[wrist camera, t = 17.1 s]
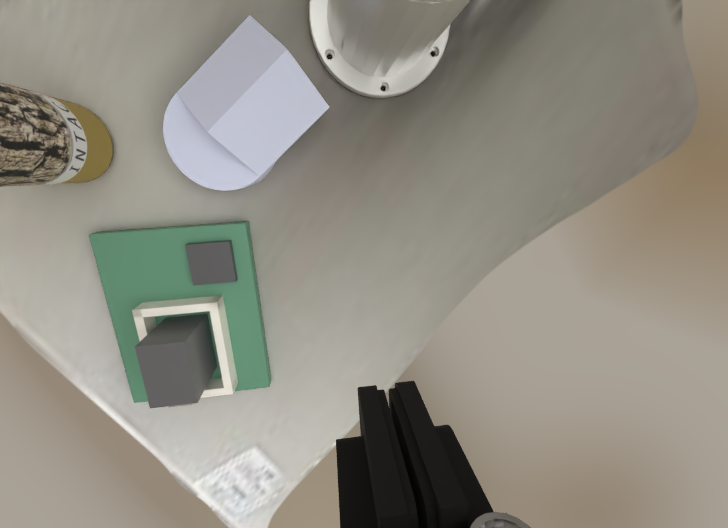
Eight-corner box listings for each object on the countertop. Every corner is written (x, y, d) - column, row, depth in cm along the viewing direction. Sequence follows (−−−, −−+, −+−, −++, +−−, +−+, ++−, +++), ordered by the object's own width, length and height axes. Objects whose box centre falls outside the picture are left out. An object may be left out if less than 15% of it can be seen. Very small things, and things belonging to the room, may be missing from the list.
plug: (166, 317, 35) (134, 346, 29) (207, 313, 35) (184, 341, 29) (179, 377, 36) (151, 415, 31) (218, 373, 37) (199, 410, 31)
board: (98, 231, 33) (73, 238, 30) (248, 221, 35) (240, 226, 31) (141, 393, 38) (123, 415, 35) (271, 379, 39) (266, 398, 36)
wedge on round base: (257, 31, 31) (157, 136, 32) (239, -7, 24) (116, 127, 25) (328, 113, 33) (233, 208, 34) (330, 99, 26) (213, 216, 28)
